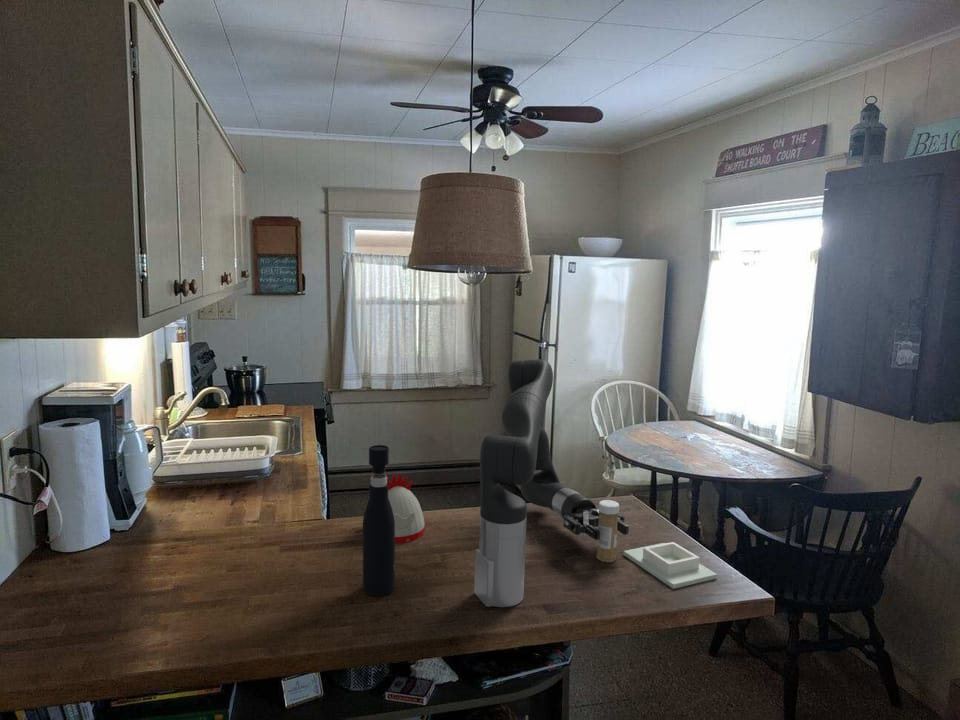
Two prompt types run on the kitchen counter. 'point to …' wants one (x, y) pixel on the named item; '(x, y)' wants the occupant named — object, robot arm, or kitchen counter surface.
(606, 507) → the spice jar
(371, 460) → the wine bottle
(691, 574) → the socket board
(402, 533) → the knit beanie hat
